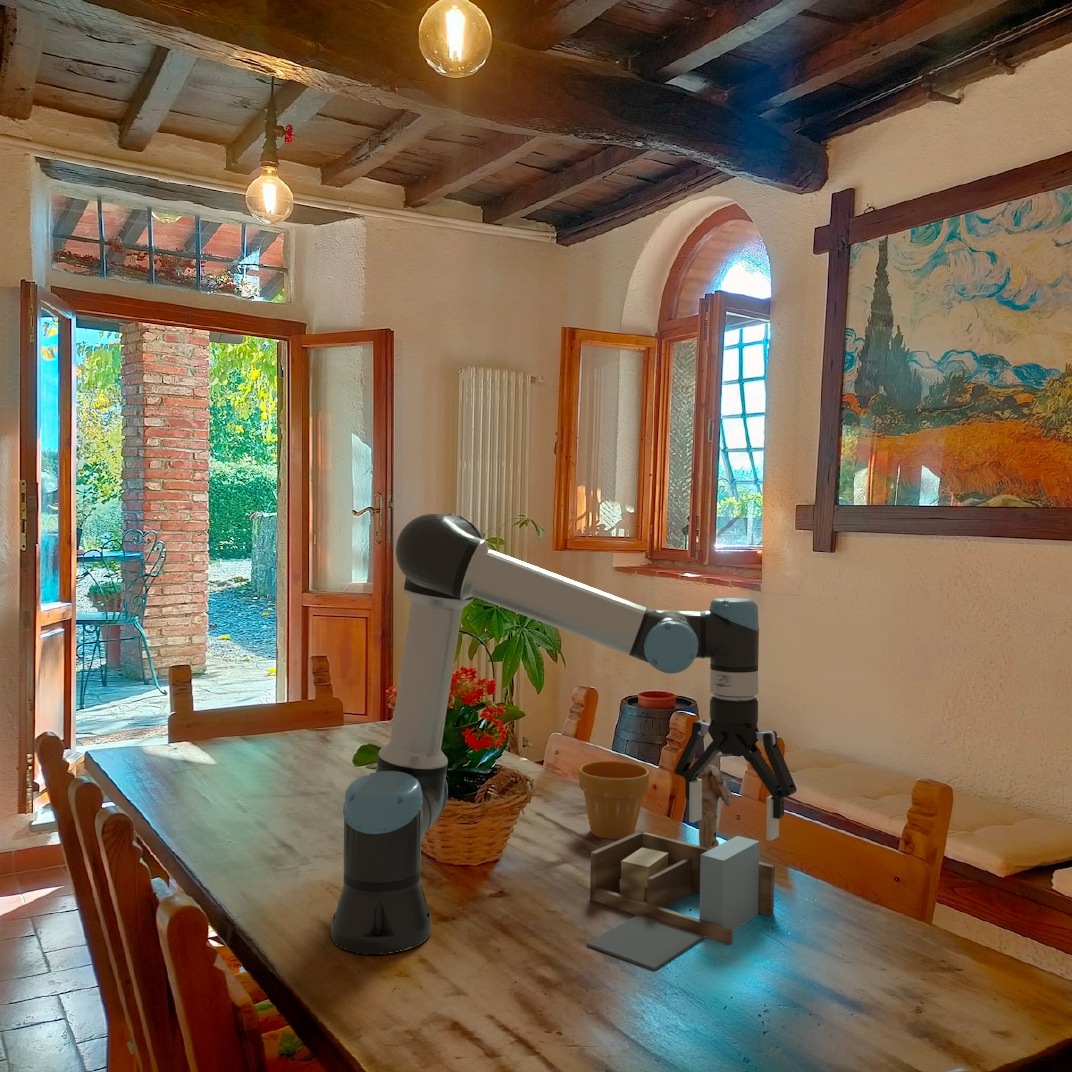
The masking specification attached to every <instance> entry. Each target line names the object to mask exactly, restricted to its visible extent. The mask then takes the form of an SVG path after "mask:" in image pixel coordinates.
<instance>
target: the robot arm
mask: <svg viewBox="0 0 1072 1072" xmlns="http://www.w3.org/2000/svg"><path fill="white" fill-rule="evenodd" d="M395 546H396V547H395V557H396V561H397V565H398V568H399V569H400V570H401V572H402V574H403V575H404V577H405V578H404V584H403V591H404V593H405V594H406V596H407V597H408V599H409V600H410V608H409V613H408V619H407V625H406V626H407V628H406V633H405V640H404V646H403V647H404V648H403V653H402V659H401V666H400V672H399V679H398V684H397V690H396V698H395V704H394V712H393V716H392V724H391V729H390V739H389V742H388V743H386V745H385V746H383V747H382V748H380V749H379V751H378V753H377V754H378V755H377V761H376V762H377V763H376V767H375V768H376V769H375V772H371V773H369V774H368V775H362V776H360V777H358V778H355V779H354V780H353V781H352V782H350V784H349V786H347V789H346V791H345V794H344V802H343V809H342V814H343V883H342V884H343V885H342V888H341V893H340V896H339V899H338V902H337V907H336V910H335V912H334V914H333V917H332V919H331V924H330V925H331V927H330V929H331V930H330V931H331V932H330V933H331V934H330V938H331V940H332V939H333V941H334V942H335V943H336V944H337V945H338V946H340V947H342V948H345V949H347V950H349V951H348V952H350V951H353V952H358V953H357V954H359V953H365V954H364V955H367V954H380V953H389V952H396V951H400V950H404V949H407V948H409V947H414V946H416V945H418V944H420V943H421V942H423V941H424V940H426V938H428V937H429V935H430V933H431V934H432V914H431V911H430V909H429V907H428V906H429V905H428V903H427V898H426V895H425V892H424V889H423V887H422V883H421V882H422V881H421V872H422V871H421V869H422V866H421V864H422V859H421V858H422V857H421V856H422V839H423V838H424V837H425V836H426V834H427V832H428V831H429V830H430V829H431V827H432V826H434V825H435V824H436V822H438V821H439V819H440V817H441V815H442V814H443V812H444V811H445V808H446V805H447V802H448V795H449V794H448V793H449V789H448V782H447V779H446V777H447V770H448V763H449V759H448V757H447V755H445V753H444V752H443V751H442V743H443V737H444V730H445V723H446V717H447V710H448V705H449V698H450V691H451V684H452V679H453V673H454V672H453V671H454V666H455V660H456V654H457V647H458V639H459V632H460V626H461V621H462V615H463V609H464V608H465V607H467V606H468V605H469V604H471V603H472V602H473V601H474V598H475V599H479V600H481V601H485V602H487V603H490V604H492V605H494V606H495V605H496V606H498V607H500V608H503V609H505V610H509V611H511V612H513V613H516V614H520V615H522V616H525V617H526V618H527V617H528V619H529V618H530V619H533V620H535V621H538V622H540V623H543V624H546V625H549V626H551V627H554V628H557V629H559V630H562V631H564V632H567V633H570V634H572V635H575V636H577V637H580V638H583V639H586V640H589V641H590V642H595V643H597V644H599V645H602V646H605V647H607V648H609V649H612V650H615V651H618V652H620V653H623V654H627V655H628V656H631V657H633V658H635V659H636V660H637V659H638V660H640V661H643V662H645V663H648V664H649V665H651V666H652V667H653V669H655V670H657V671H660V672H662V673H663V674H664V673H665V674H672V675H673V674H678V673H681V672H683V671H685V670H686V669H688V668H689V667H690V666H691V665H692V664H693V663H694V660H696V659H710V660H709V661H710V662H709V663H710V664H709V670H710V671H709V672H710V673H709V675H710V677H709V679H710V680H709V681H710V682H709V689H710V690H709V691H710V693H711V694H712V696H711V697H710V698H709V718H710V723H707V721H706V720H704V719H700V720H696V721H694V722H692V724H691V733H690V734H691V735H689V736H690V737H689V739H688V741H687V743H686V745H685V747H684V749H683V751H682V753H681V755H680V757H679V759H678V761H677V764H676V766H675V768H674V773H675V775H677V776H681V777H682V778H683V779H684V780H685V781H684V785H685V786H684V787H685V788H684V789H685V790H684V791H685V793H684V795H685V799H686V800H688V801H689V805H688V806H689V807H688V808H689V817H688V821H689V823H691V824H692V823H693V824H694V823H696V822H699V820H700V819H702V779H699V778H698V777H699V776H698V775H699V774H700V773H701V772H702V771H703V770H704V769H705V767H706V766H707V765H708V764H709V765H710V764H711V762H712V761H713V760H714V759H715V758H716V756H717V755H718V754H719V753H721V754H722V755H732V756H734V757H739V758H740V757H743V758H744V760H745V761H746V762H748V763H749V764H750V765H751V768H752V769H753V770H754V772H755V773H756V774H757V776H758V777H759V779H760V781H761V782H762V784H763V785H764V787H765V789H766V790H767V791H768V792H769V793H770V795H769V796H767V797H766V841H773V840H775V839H777V838H778V837H780V819H782V818H784V815H785V798H786V797H789V796H792V795H793V794H795V793H797V791H798V790H797V787H796V783H795V782H794V779H793V777H792V774H791V772H790V770H789V767H788V765H787V763H786V761H785V758H784V755H783V754H782V751H781V749H780V747H779V742H778V733H777V731H775V730H770V731H759V727H758V722H759V699H758V698H757V696H758V694H759V643H760V642H759V641H760V637H759V635H760V627H759V626H760V625H759V607H758V604H757V603H756V602H755V601H754V600H753V599H749V598H741V597H740V598H739V597H736V598H735V597H726V598H725V597H719V598H714V599H712V600H711V601H710V604H709V605H710V606H709V608H708V610H700V611H698V610H697V611H696V610H665V609H664V610H663V609H661V610H660V609H650V608H647V607H646V606H643V605H640V604H637V603H634V602H632V601H630V600H627V599H623V598H621V597H619V596H615V595H613V594H611V593H608V592H605V591H602V590H600V589H597V588H594V587H591V586H589V585H587V584H584V583H581V582H579V581H576V580H573V579H570V578H567V577H566V576H562V575H560V574H557V573H555V572H551V571H548V570H546V569H544V568H541V567H539V566H536V565H533V564H531V563H528V562H525V561H522V560H520V559H517V558H515V557H512V556H509V555H507V554H503V553H501V552H499V551H495V550H493V549H491V547H490V546H489V544H488V542H487V540H485V539H484V536H483V535H482V533H481V532H480V530H479V528H478V527H477V526H476V525H475V524H474V523H473V522H472V521H470V520H469V519H467V518H465V517H464V516H462V515H458V514H454V513H447V512H446V513H427V514H423V515H419V516H417V517H415V518H414V519H412V520H410V521H409V522H408V523H407V524H406V525H405V526H404V528H403V529H401V531H400V533H399V536H398V538H397V540H396V545H395ZM707 734H709V736H710V738H711V739H712V741H711V743H710V744H709V745H708V746H706V748H705V750H704V751H703V753H701V755H700V756H699V757H698V758H697V759H696V760H695V762H694V759H695V757H696V755H697V753H698V751H699V749H700V746H701V745H702V742H703V741H704V738H705V736H706V735H707ZM758 741H760V745H762V746H763V749H764V752H765V754H766V756H767V757H766V758H767V759H768V761H769V764H770V765H769V764H768V762H767V761H766V759H765V758H764V757H763V755H762V751H761V750H760V748H759V747H758V745H757V742H758ZM693 762H694V763H693ZM692 763H693V765H692ZM691 765H692V766H691ZM430 936H431V935H430ZM429 938H430V937H429ZM429 938H428V939H429ZM333 941H332V942H333ZM426 941H427V940H426ZM334 942H333V943H334ZM335 943H334V944H335ZM336 944H335V945H336ZM337 945H336V946H337ZM338 946H337V947H338ZM340 947H339V948H340ZM342 948H341V949H342ZM347 950H346V951H347ZM353 952H352V953H353ZM366 953H367V954H366Z"/></svg>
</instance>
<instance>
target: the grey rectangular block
mask: <svg viewBox="0 0 1072 1072" xmlns="http://www.w3.org/2000/svg"><path fill="white" fill-rule="evenodd" d="M760 844H761V843H760V841H759V840H757V839H753V838H749V837H748V838H747V837H743V836H739V835H736V836H734V837H732V838H730V839H728V840H726V841H724V842H723V843H721V844H720V843H719V845H718V846H716V847H714V848H713V849H711V850H709V851H707V852H705V853H703V854H701V862H700V895H699V918H698V919H700V920H703V921H706V922H710V923H713V924H716V925H719V926H722V927H725V928H729V929H732V930H733V932H734V931H735V930H737V929H738V928H740V927H741V926H743V925H745V924H746V923H747V922H749V921H750V920H752V919H753V918H755V917H756V916H757V915H759V913H758V894H759V862H760Z"/></svg>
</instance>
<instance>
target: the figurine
mask: <svg viewBox="0 0 1072 1072" xmlns="http://www.w3.org/2000/svg"><path fill="white" fill-rule="evenodd" d="M698 776H699V777H697V779H702V819H700V820H698V846H701V847H705V848H709V849H713V848H714V847H716V846H718V845H720V843H719V840H718V839H717V833H718V832H717V829H718V828H717V821H718V820H717V817H718V816H717V814H718V802H719V799H721V800H722V801H723V803H724V804H725V806H727V807H731V804H732V799H733V797H734V796H733V794H732V792H731V790H729V789H728V784H727V783H726V781H725V780H724V778H723V776H722V773H721V771H720V769H718V767H717V766H714V765H712V764H710V763H709V764H708V765H707V766H706V767H705V769H704V770H703V771H702V772H701V773H700V774H699V775H698Z"/></svg>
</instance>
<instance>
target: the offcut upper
mask: <svg viewBox="0 0 1072 1072" xmlns="http://www.w3.org/2000/svg"><path fill="white" fill-rule="evenodd" d="M666 868H668V853H666V852H661V851H656V850H652V849H647V848H640V849H639V850H637V851H636V852H634V853H633V854H631V855H630V856H628V857H627V858H625V859H624V860H622V861H621V882H625V883H629V884H633V885H637V886H642V887H646V888H647V878H649V877H651V876H653V875H655V874H657V873H659V872H661V871H662V870H664V869H666Z"/></svg>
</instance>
